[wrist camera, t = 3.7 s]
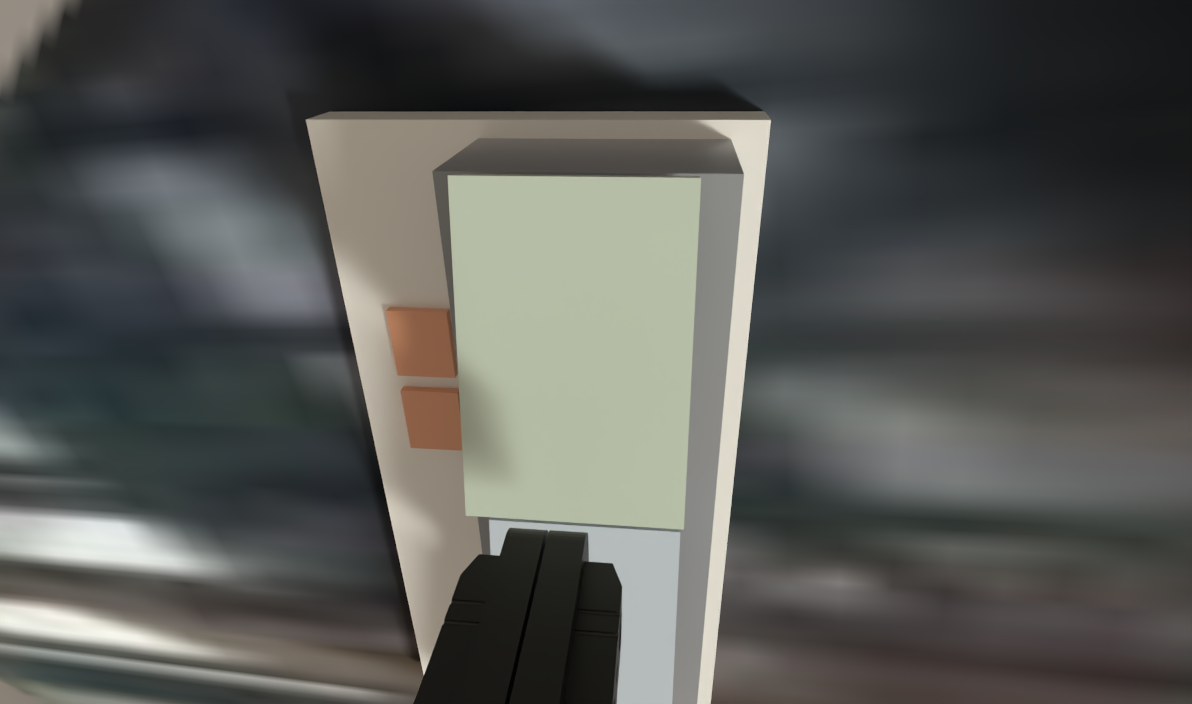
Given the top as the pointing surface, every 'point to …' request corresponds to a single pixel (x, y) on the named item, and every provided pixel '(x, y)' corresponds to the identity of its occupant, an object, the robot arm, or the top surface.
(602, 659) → the robot arm
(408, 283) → the switch panel
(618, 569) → the pale grey-blue box
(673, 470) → the plate
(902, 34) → the top surface
